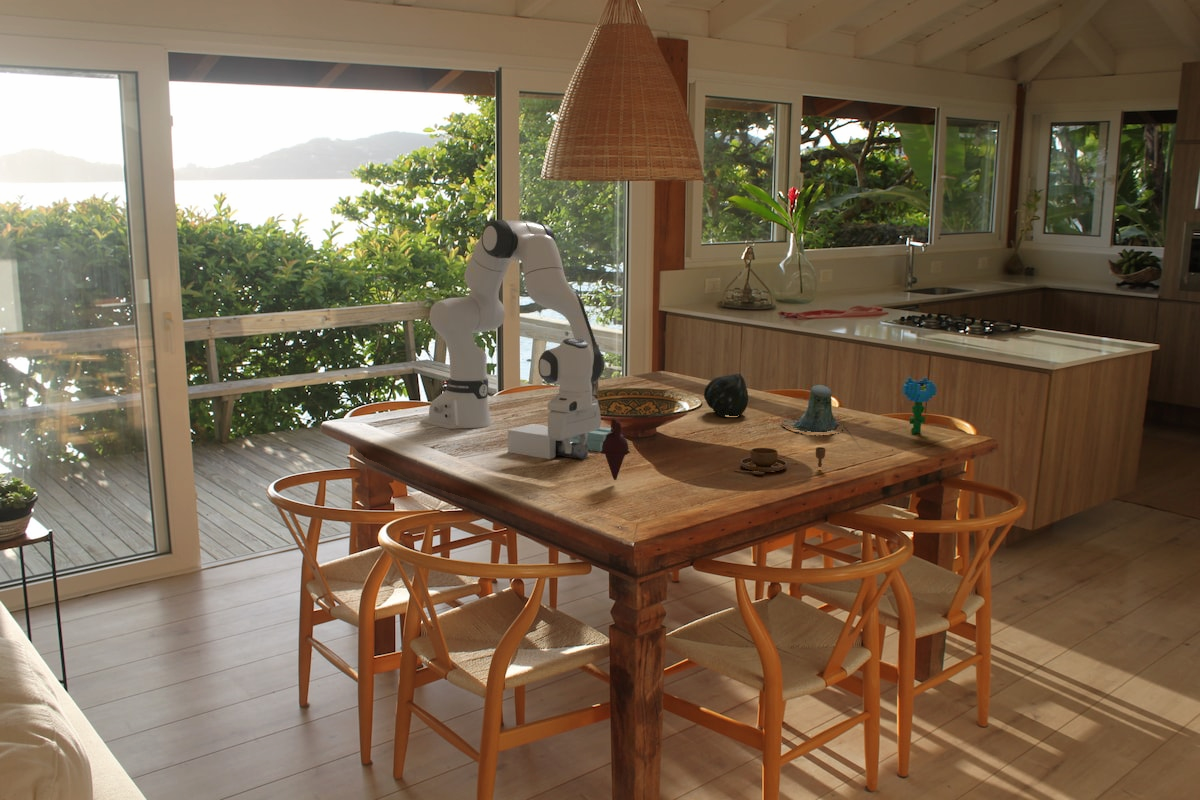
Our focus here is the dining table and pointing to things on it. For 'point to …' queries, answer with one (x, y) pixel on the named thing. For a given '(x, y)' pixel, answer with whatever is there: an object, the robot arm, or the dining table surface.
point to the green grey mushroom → (817, 412)
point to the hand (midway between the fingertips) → (575, 451)
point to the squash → (727, 395)
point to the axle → (579, 449)
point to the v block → (595, 438)
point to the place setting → (771, 460)
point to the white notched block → (531, 441)
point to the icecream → (615, 448)
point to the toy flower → (918, 399)
